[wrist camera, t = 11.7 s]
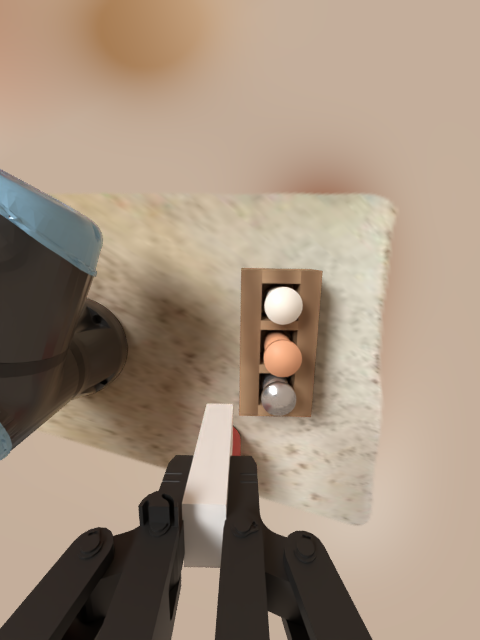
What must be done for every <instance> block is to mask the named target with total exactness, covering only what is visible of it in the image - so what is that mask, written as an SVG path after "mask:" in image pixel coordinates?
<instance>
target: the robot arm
mask: <svg viewBox="0 0 480 640" xmlns="http://www.w3.org/2000/svg"><path fill="white" fill-rule="evenodd" d="M102 244H103V237H102V233H101V231H100V229H99V227H98V226H97V225H96V224H95V223H94V222H93V221H92V220H91V219H89V218H88V217H86V216H85V215H83V214H81V213H80V212H78V211H76V210H75V209H73V208H71V207H69V206H68V205H66V204H64V203H62V202H61V201H59V200H57V199H55V198H53V197H51V196H50V195H48V194H46V193H44V192H42V191H40V190H39V189H37V188H35V187H33V186H31V185H29V184H28V183H26V182H24V181H22V180H20V179H18V178H16V177H14V176H12V175H10V174H8V173H7V172H5V171H3V170H1V169H0V460H2V459H3V458H5V457H6V456H7V455H8V454H9V453H10V451H11V450H12V449H13V448H15V447H16V446H17V445H18V444H20V443H21V442H22V441H23V440H24V439H25V438H27V437H28V436H29V435H30V434H31V433H33V432H34V431H35V430H36V429H37V428H39V427H40V426H41V425H42V424H43V423H45V422H46V421H47V420H48V419H49V418H51V417H52V416H53V415H54V414H55V413H56V412H58V411H59V410H60V409H61V408H62V407H64V406H65V405H66V404H67V403H68V402H69V401H71V400H73V399H77V398H80V397H83V396H86V395H90V394H93V393H95V392H98V391H100V390H101V389H103V388H105V387H106V386H107V385H108V384H110V383H111V382H112V381H113V380H114V379H115V378H116V377H117V376H118V375H119V373H120V372H121V370H122V369H123V367H124V364H125V362H126V358H127V341H126V336H125V333H124V331H123V328H122V327H121V325H120V323H119V321H118V320H117V319H116V317H115V316H114V315H113V314H112V313H111V312H110V311H109V310H108V309H106V308H105V307H104V306H102V305H101V304H99V303H97V302H95V301H93V300H90V299H87V295H88V292H89V289H90V286H91V284H92V281H93V278H94V277H96V275H97V271H96V266H97V262H98V259H99V255H100V251H101V248H102ZM232 448H233V404H207V405H206V409H205V413H204V417H203V421H202V425H201V429H200V433H199V437H198V441H197V445H196V449H195V453H194V456H189V455H176V456H175V457H174V458H173V459H172V460H171V461H170V462H169V464H168V467H167V469H166V472H165V475H164V478H163V482H162V483H161V486H160V489H159V491H156V492H154V493H152V494H149V495H148V496H147V497H145V498H144V499H143V500H142V502H141V503H140V505H139V506H138V507H139V519H140V526H139V527H137V528H135V529H134V530H131V531H129V532H125V533H122V534H118V535H115V536H113V535H112V532H111V531H110V530H108V529H107V528H100V527H98V528H94V529H90V530H88V531H87V532H85V533H83V534H81V535H80V536H79V537H78V538H77V539H76V540H75V541H74V542H73V543H72V544H71V545H70V547H69V548H68V549H67V550H66V551H65V553H64V554H63V555H62V556H61V557H60V558H59V560H58V561H57V562H56V563H55V564H54V566H53V567H52V568H51V569H50V570H49V571H48V573H47V574H46V575H45V576H44V577H43V579H42V580H41V581H40V582H39V584H38V585H37V586H36V587H35V588H34V590H33V591H32V592H31V593H30V594H29V595H28V596H27V598H26V599H25V600H24V601H23V602H22V604H21V605H20V606H19V607H18V608H17V609H16V611H15V612H14V613H13V614H12V615H11V617H10V618H9V619H8V620H7V621H6V623H5V624H4V625H3V626H2V627H1V628H0V640H171V636H172V632H173V626H174V621H175V615H176V610H177V604H178V600H179V594H180V589H181V570H182V565H183V560H184V567H212V568H213V567H214V568H220V579H219V593H218V606H217V619H216V632H215V640H270V639H269V624H268V611H269V612H272V613H274V614H276V615H278V616H281V618H282V621H283V625H284V628H285V632H286V635H287V638H288V640H372V638H371V636H370V634H369V632H368V630H367V628H366V626H365V624H364V622H363V621H362V619H361V617H360V615H359V613H358V611H357V609H356V607H355V605H354V603H353V601H352V599H351V597H350V595H349V594H348V591H347V590H346V588H345V586H344V584H343V582H342V580H341V578H340V576H339V574H338V572H337V571H336V568H335V566H334V564H333V562H332V560H331V559H330V557H329V555H328V553H327V551H326V549H325V547H324V545H323V544H322V543H321V541H320V540H319V539H318V538H317V537H316V536H314V535H313V534H311V533H309V532H306V531H295V532H293V533H291V534H290V535H289V536H288V537H284V536H281V535H278V534H276V533H274V532H272V531H271V530H269V529H268V528H267V527H266V526H265V525H264V523H263V522H262V520H261V517H260V511H259V510H260V509H259V494H258V479H257V464H256V463H255V461H254V459H253V458H252V456H232Z"/></svg>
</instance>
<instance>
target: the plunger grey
mask: <svg viewBox="0 0 480 640" xmlns="http://www.w3.org/2000/svg"><path fill="white" fill-rule="evenodd" d="M261 380H262V387H263V391H262V394H261V401H262V406H263V408H264V409H265V410H266V411H267V412H268V413H269V414H271V415H275V416H283V415H286V414H288V413H290V412H291V411H292V410H293V409H294V407H295V405H296V394H295V392H294V390H293V388H292V387H291V386H290V385H289V384H288V382H287V379H286V377H277V376H275V375H273V374H271V373H262V375H261Z"/></svg>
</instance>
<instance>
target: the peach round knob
mask: <svg viewBox="0 0 480 640" xmlns="http://www.w3.org/2000/svg"><path fill="white" fill-rule="evenodd" d="M263 345H264V349H265V352H264V364H265V367H266V369H267V370H268V371H269V372H270V373H271V374H273V375H275V376H277V377H288V376H290V375H292V374H294V373H295V372H296V371H297V370H298V369H299V368H300V366H301V363H302V355H301V352H300V350H299V348H298V347H297V346H296V344H294V343H293V342H291V341H290V339H289V338H288V336H287V335H286V333H285V332H283V331H281V330H272V331H270V332H268V333H267V334H266V335H265V337H264V340H263Z"/></svg>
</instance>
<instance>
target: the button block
mask: <svg viewBox="0 0 480 640" xmlns="http://www.w3.org/2000/svg"><path fill="white" fill-rule="evenodd" d="M322 272H323V271H319V270H313V269H265V268H242V269H241V331H240V396H239V415H240V416H275V415H271V414H269V413H268V412H267V411H266V410H265V409H264V408H263V406H262V401H261V394H262V391H263V387H262V380H261V375H262V373H270V372H269V371H268V370H267V369H266V367H265V364H264V352H265V349H264V345H263V340H264V337H265V335H266V334H267V333H268V332H270V331H272V330H281V331H283V332H285V333H286V335H287V336H288V338H289V339H290V341H291V342H293V343H294V344H296V346H297V347H298V348H299V350H300V352H301V355H302V363H301V366H300V368H299V369H298V370H297V371H296V372H295V373H294V374H292V375H290V376H288V377H286V379H287V382H288V384H289V385H290V386H291V387H292V388H293V390H294V392H295V394H296V405H295V407H294V409H293V410H292V411H291V412H290V413H288V414H286V415H283V416H293V417H311V411H312V398H313V386H314V373H315V360H316V348H317V335H318V322H319V310H320V297H321V284H322ZM275 285H279V286H282V287H289V288H291V289H293V290H295V291H296V292H297V293H298V294H299V295H300V297H301V299H302V304H303V307H302V312H301V314H300V316H299V317H298V318H297V319H296V320H295V321H294V322H292V323H290V324H286V325H281V324H277V323H274V322H273V321H271V320H270V319H269V318H268V316H267V314H266V312H265V308H264V303H265V302H264V294H265V292H266V291H267V289H268V288H270V287H272V286H275Z"/></svg>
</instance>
